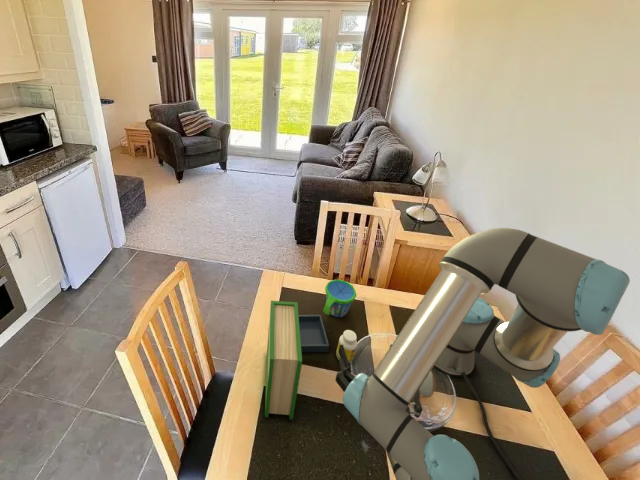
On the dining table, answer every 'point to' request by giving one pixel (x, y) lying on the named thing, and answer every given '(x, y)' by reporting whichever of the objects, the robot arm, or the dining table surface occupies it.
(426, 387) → the ceramic mug
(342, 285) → the snack cup
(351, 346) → the supplement bottle
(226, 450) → the dining table surface
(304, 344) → the tote
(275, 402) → the hardback book
